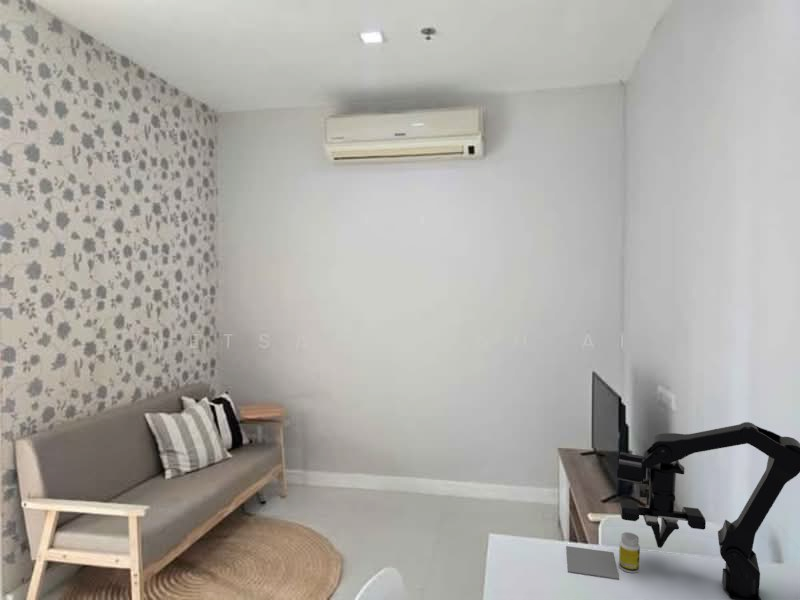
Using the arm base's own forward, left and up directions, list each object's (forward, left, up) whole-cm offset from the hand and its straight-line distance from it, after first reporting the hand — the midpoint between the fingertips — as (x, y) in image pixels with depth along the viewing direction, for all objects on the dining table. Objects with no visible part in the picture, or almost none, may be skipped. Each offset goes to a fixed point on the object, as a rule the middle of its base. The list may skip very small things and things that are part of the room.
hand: (659, 546), depth 134 cm
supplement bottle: (+7, 0, -7) cm, 10 cm away
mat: (+16, 0, -7) cm, 17 cm away
